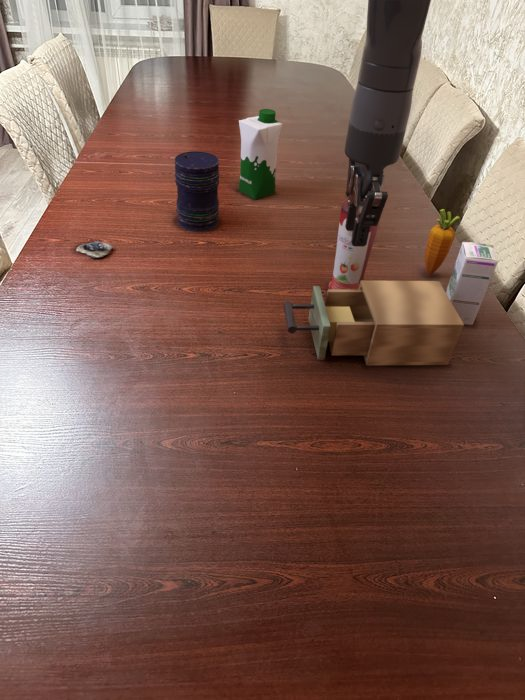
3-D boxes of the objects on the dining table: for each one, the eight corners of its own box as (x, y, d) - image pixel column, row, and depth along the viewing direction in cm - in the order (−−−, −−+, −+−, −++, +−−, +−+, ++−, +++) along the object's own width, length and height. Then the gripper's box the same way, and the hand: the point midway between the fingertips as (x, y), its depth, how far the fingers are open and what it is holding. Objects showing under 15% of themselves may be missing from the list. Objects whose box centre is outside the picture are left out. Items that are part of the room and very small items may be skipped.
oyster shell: (104, 262, 109) (103, 254, 108) (68, 256, 110) (67, 248, 108) (117, 246, 114) (116, 238, 113) (83, 240, 115) (82, 232, 113)
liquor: (368, 291, 106) (401, 155, 88) (352, 308, 102) (383, 168, 83) (337, 279, 109) (362, 144, 91) (320, 294, 105) (342, 156, 86)
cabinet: (366, 365, 90) (377, 324, 84) (351, 320, 99) (360, 280, 93) (447, 365, 91) (464, 324, 85) (425, 320, 100) (439, 280, 94)
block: (345, 325, 94) (349, 306, 91) (350, 341, 91) (355, 322, 88) (321, 325, 94) (325, 306, 91) (325, 341, 91) (329, 322, 88)
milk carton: (280, 193, 138) (287, 115, 125) (254, 202, 134) (258, 121, 120) (258, 182, 143) (262, 105, 130) (232, 190, 138) (234, 110, 125)
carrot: (445, 278, 112) (468, 214, 102) (428, 283, 110) (449, 218, 100) (429, 266, 115) (449, 203, 105) (412, 272, 113) (431, 208, 103)
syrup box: (473, 326, 100) (501, 260, 90) (442, 321, 100) (466, 256, 91) (469, 308, 104) (495, 244, 95) (439, 304, 105) (462, 240, 95)
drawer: (286, 359, 88) (290, 326, 83) (279, 318, 97) (283, 285, 92) (394, 359, 90) (404, 326, 85) (378, 318, 98) (387, 286, 94)
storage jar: (226, 218, 126) (227, 157, 116) (206, 235, 119) (205, 172, 110) (190, 208, 129) (188, 147, 119) (169, 224, 122) (165, 162, 112)
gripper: (422, 142, 64) (390, 262, 75) (392, 105, 74) (368, 215, 86) (361, 140, 63) (339, 262, 74) (340, 103, 73) (323, 214, 85)
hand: (355, 236), depth 80 cm, fingers open, 4 cm apart
